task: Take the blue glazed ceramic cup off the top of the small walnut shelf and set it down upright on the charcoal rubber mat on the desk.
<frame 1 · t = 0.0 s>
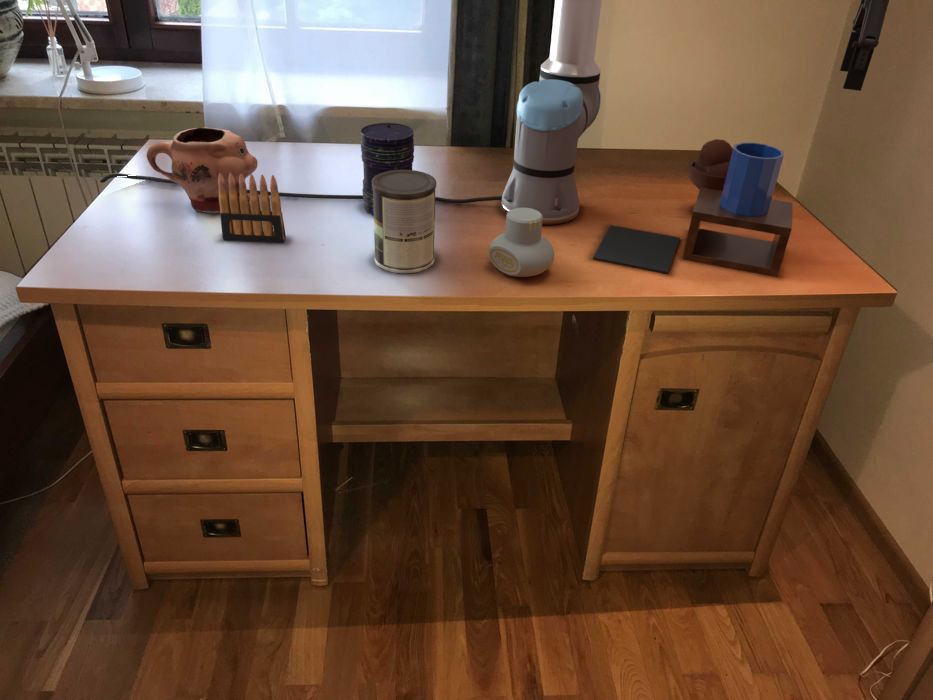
hand: (849, 80, 131), 28 cm above the table, tool pointing down, fingers open, 13 cm apart
ice cream bowl: (706, 214, 151), on the table
ammunition clip: (254, 240, 133), on the table
air freshener: (519, 270, 128), on the table
shelf: (731, 253, 136), on the table
storage jar: (388, 208, 147), on the table
decorative planter: (209, 206, 145), on the table
mat: (637, 249, 136), on the table
coffee can: (404, 260, 129), on the table
cup: (743, 206, 131), point 9 cm above the table, touching shelf
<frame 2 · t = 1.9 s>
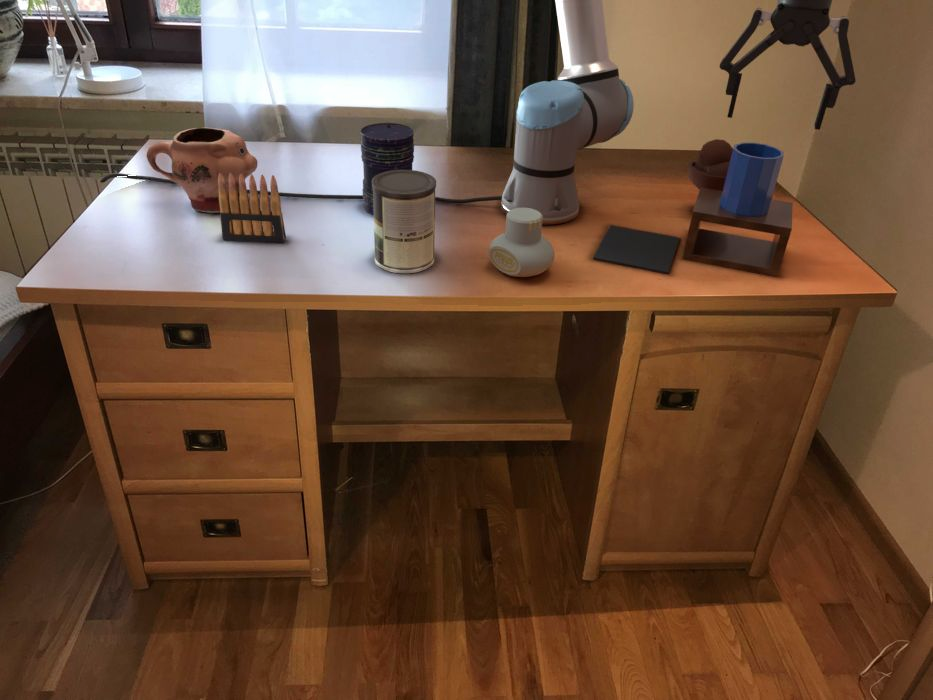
hand: (772, 121, 124), 23 cm above the table, tool pointing down, fingers open, 13 cm apart
nothing on the table moved.
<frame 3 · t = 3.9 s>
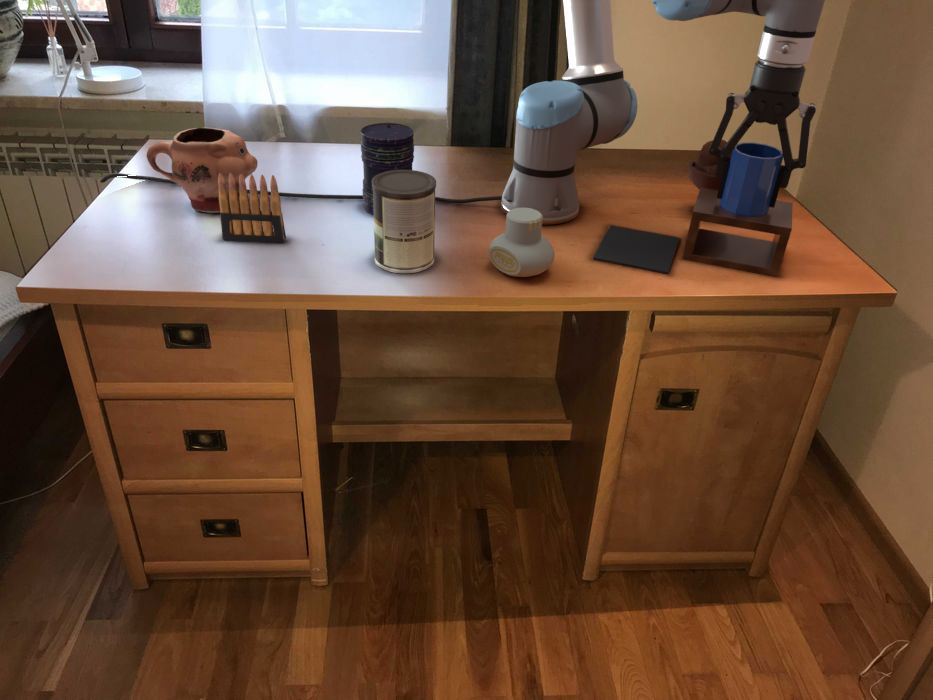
hand: (745, 200, 130), 10 cm above the table, tool pointing down, fingers closed on cup, 8 cm apart
cup: (743, 206, 131), point 9 cm above the table, touching gripper, shelf
everything else where it was.
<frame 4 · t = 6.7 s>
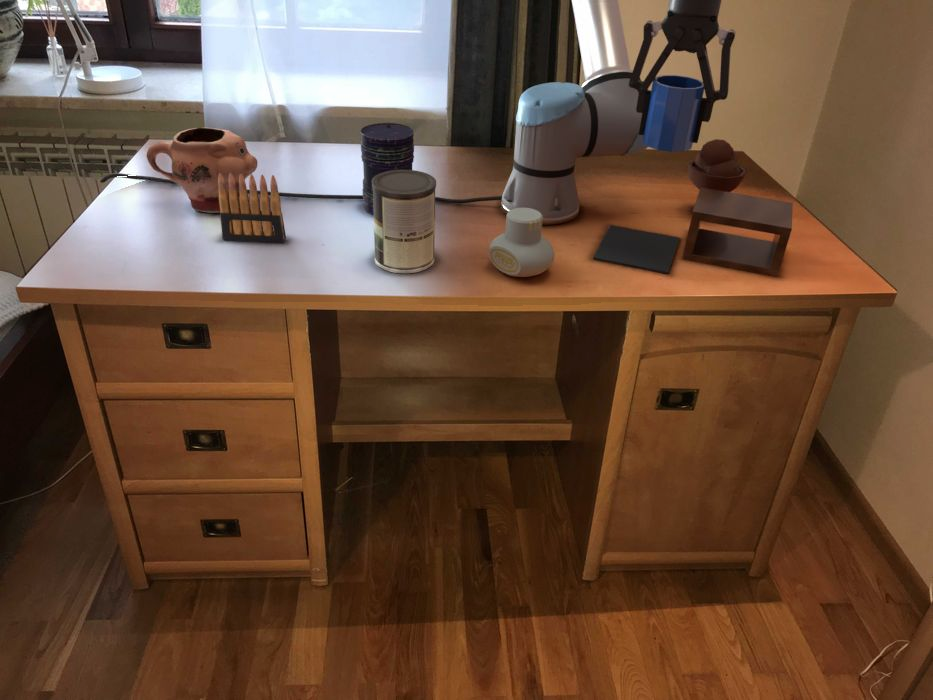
hand: (668, 136, 125), 21 cm above the table, tool pointing down, fingers closed on cup, 8 cm apart
cup: (667, 143, 126), point 19 cm above the table, touching gripper
everything else where it was.
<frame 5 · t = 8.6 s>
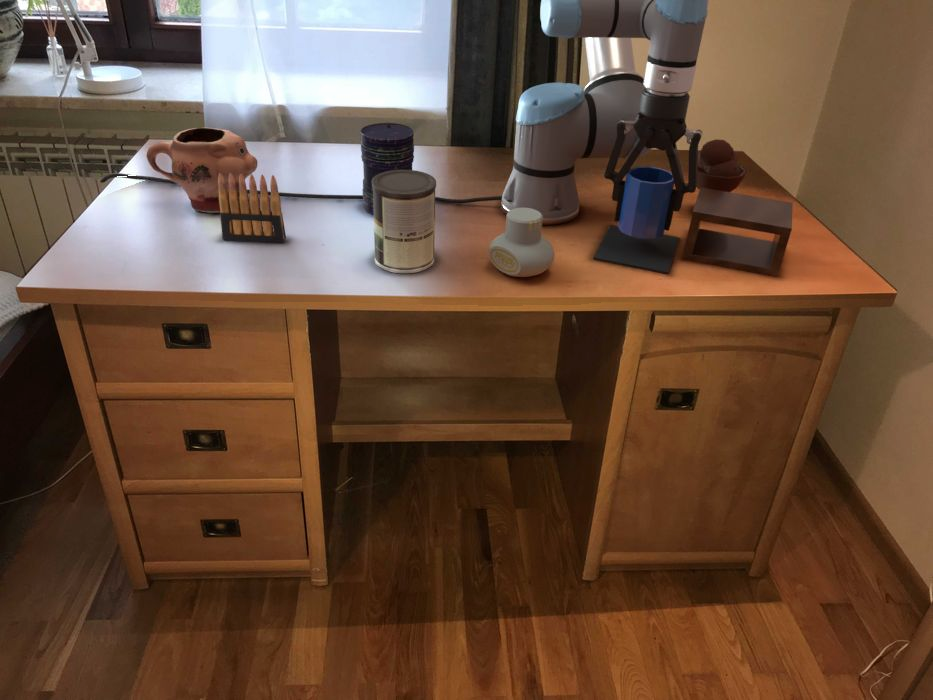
hand: (642, 222, 133), 5 cm above the table, tool pointing down, fingers closed on cup, 8 cm apart
cup: (641, 229, 134), point 4 cm above the table, touching gripper
everything else where it was.
when the fingers open (2 cm above the table, at t = 10.0 s): cup stays where it is, resting on mat.
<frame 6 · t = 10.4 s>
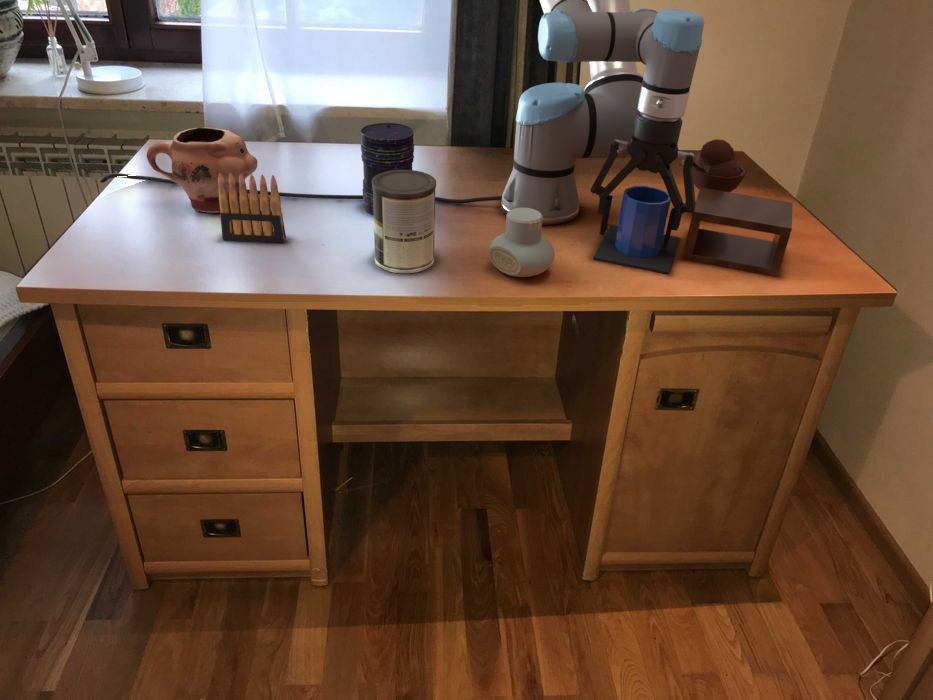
hand: (633, 238, 135), 2 cm above the table, tool pointing down, fingers open, 10 cm apart
cup: (637, 247, 136), resting on mat
everything else where it was.
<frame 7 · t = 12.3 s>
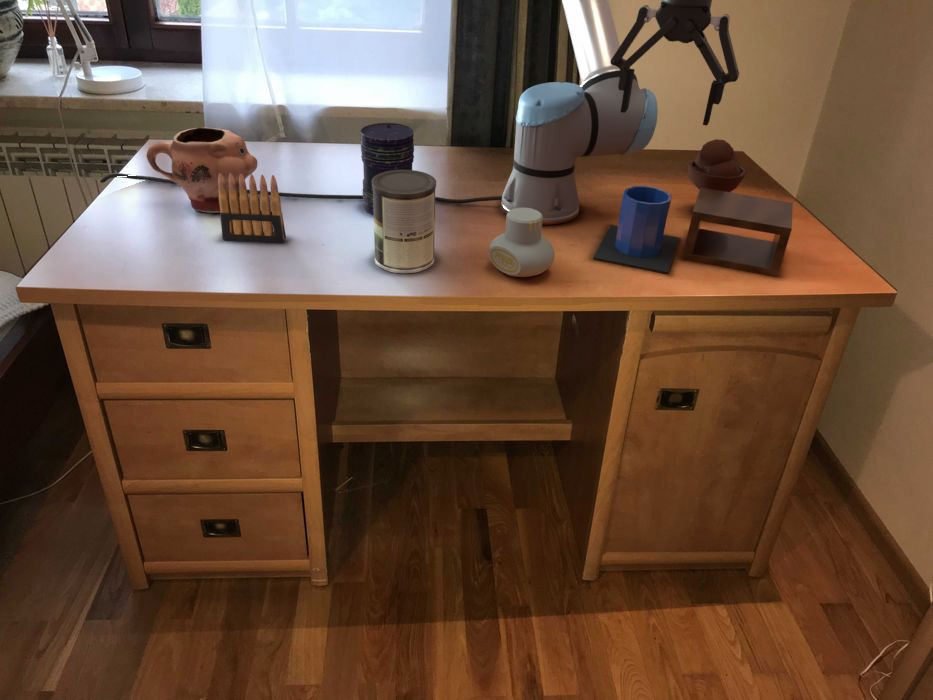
hand: (664, 116, 127), 23 cm above the table, tool pointing down, fingers open, 13 cm apart
nothing on the table moved.
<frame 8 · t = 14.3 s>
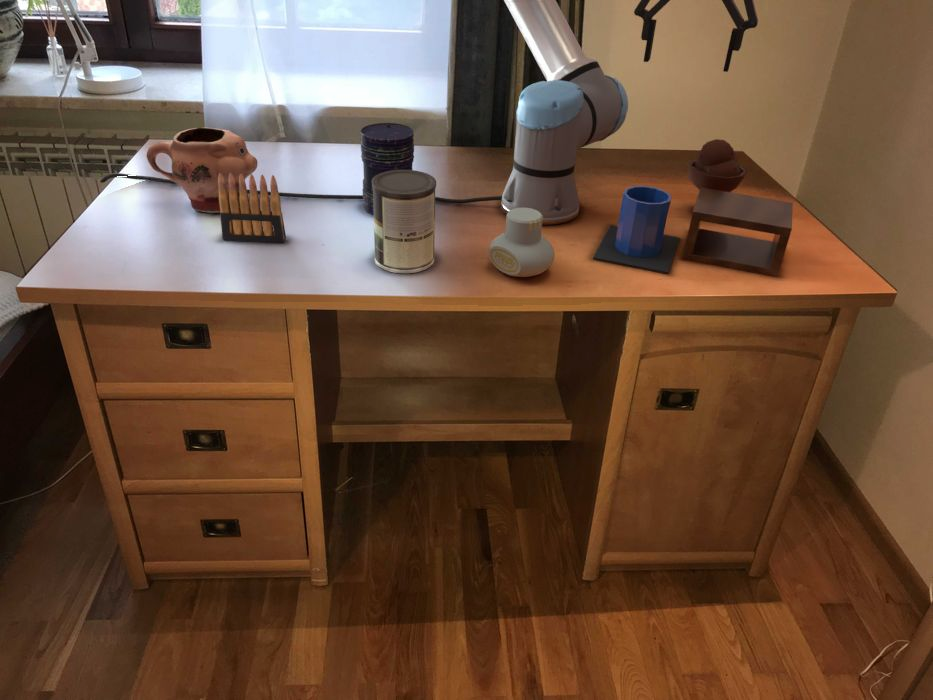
hand: (685, 65, 132), 29 cm above the table, tool pointing down, fingers open, 13 cm apart
nothing on the table moved.
at the end: cup inside the target area on the mat (0.1 cm from its centre), point 0.4 cm above the mat's base; cup tilted 0°; cup touching mat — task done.
